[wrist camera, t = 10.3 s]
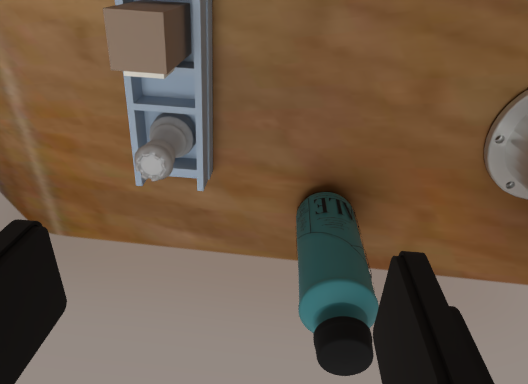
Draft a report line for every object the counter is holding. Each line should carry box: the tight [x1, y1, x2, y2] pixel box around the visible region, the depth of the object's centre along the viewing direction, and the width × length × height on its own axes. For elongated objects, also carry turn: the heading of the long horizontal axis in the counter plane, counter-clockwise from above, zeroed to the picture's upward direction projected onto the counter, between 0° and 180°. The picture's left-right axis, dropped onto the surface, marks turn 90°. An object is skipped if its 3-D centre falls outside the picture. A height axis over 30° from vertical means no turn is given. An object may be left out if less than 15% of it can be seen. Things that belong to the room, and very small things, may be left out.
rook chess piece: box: [134, 112, 196, 181], centre depth 35 cm, size 4×4×8 cm
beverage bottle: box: [296, 192, 379, 376], centre depth 35 cm, size 6×7×20 cm
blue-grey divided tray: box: [103, 0, 213, 191], centre depth 34 cm, size 7×18×10 cm, turn 177°
